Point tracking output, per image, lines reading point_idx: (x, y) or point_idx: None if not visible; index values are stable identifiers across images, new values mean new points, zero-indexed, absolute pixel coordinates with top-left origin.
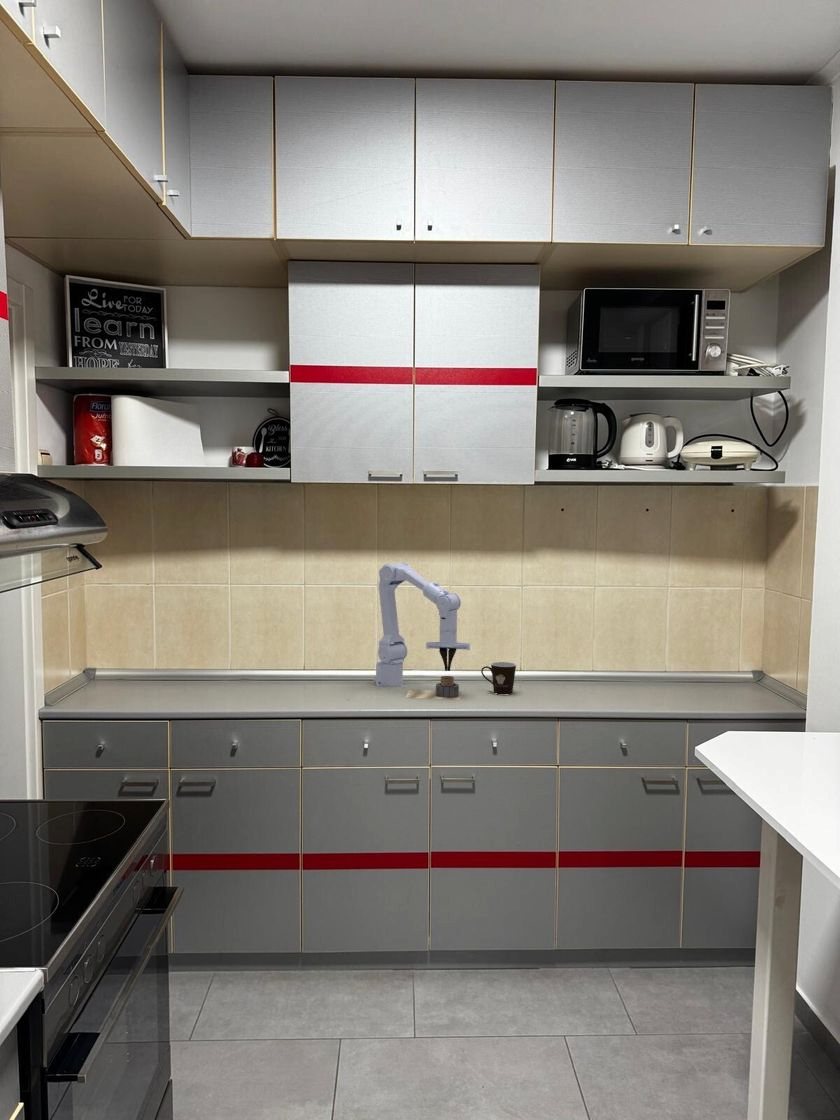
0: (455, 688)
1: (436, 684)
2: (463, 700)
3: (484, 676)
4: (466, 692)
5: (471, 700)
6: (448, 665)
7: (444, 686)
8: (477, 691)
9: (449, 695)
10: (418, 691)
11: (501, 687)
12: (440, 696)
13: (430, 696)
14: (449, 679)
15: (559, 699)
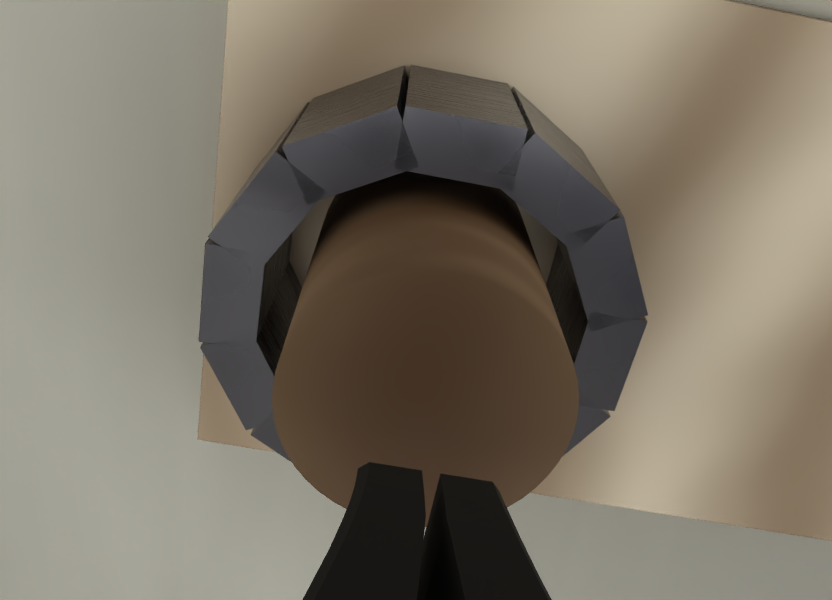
0: (277, 149)
1: (626, 361)
2: (181, 77)
3: None
4: (147, 502)
5: (53, 73)
6: (399, 572)
7: (494, 224)
8: (13, 538)
9: (406, 80)
10: (799, 461)
11: None
12: (555, 127)
13: (711, 168)
14: (389, 264)
15: None
